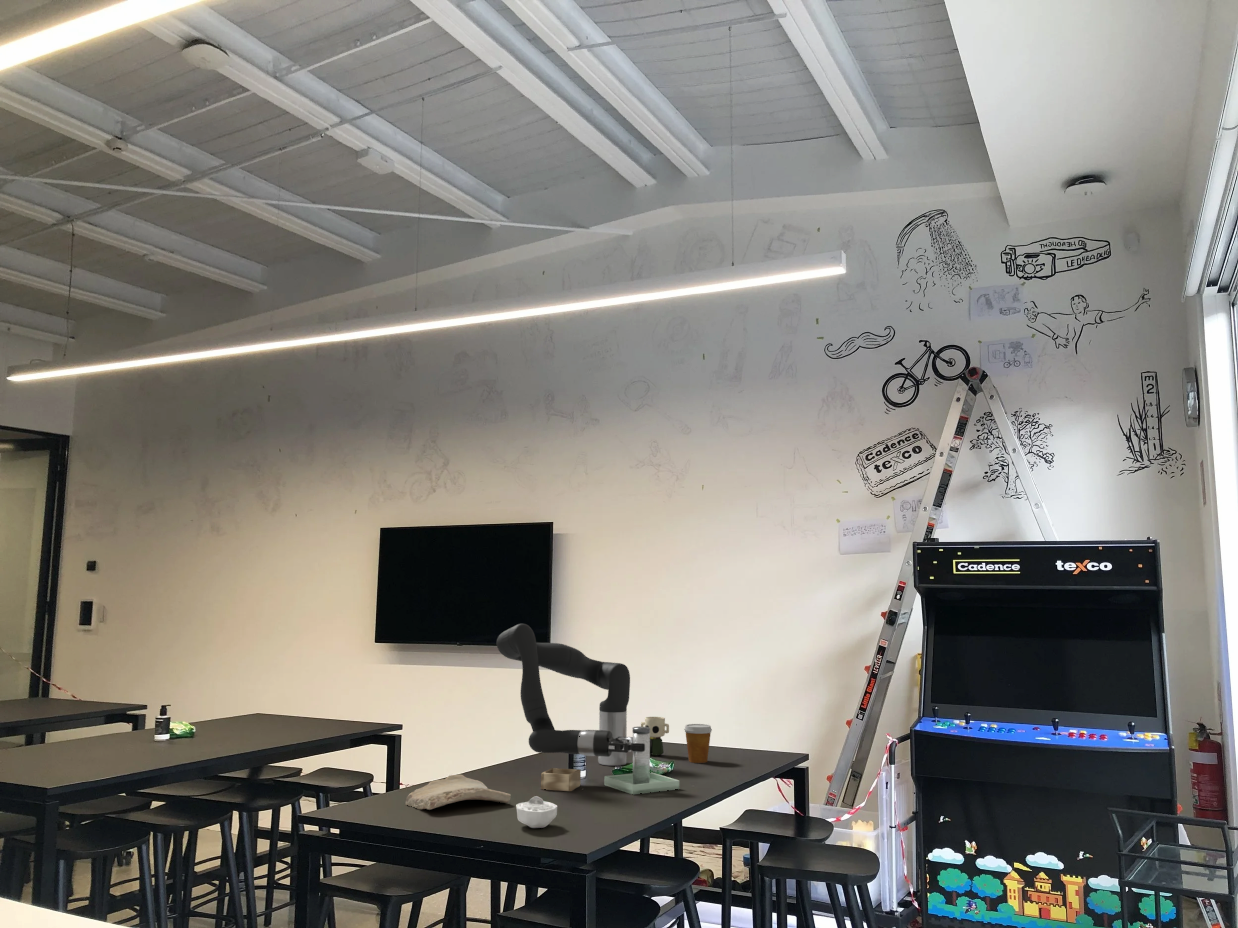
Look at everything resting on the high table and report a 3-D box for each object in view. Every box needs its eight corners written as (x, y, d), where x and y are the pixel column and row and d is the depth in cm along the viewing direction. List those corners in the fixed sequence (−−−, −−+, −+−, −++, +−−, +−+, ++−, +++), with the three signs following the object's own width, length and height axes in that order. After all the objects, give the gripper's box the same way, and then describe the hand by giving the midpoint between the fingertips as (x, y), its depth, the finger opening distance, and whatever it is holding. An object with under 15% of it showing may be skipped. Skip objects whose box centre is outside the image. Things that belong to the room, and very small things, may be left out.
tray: (604, 784, 289) (604, 776, 289) (649, 780, 297) (649, 771, 297) (632, 794, 275) (632, 785, 275) (679, 789, 283) (679, 780, 283)
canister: (629, 782, 287) (629, 727, 289) (643, 780, 290) (644, 725, 292) (638, 785, 283) (638, 729, 284) (653, 783, 285) (653, 728, 287)
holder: (540, 789, 281) (541, 773, 282) (550, 783, 290) (551, 767, 291) (571, 790, 279) (571, 774, 280) (580, 785, 288) (580, 769, 289)
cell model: (513, 832, 229) (514, 803, 230) (516, 821, 241) (517, 792, 242) (556, 832, 230) (557, 802, 231) (557, 821, 242) (557, 792, 243)
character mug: (636, 755, 343) (636, 717, 345) (644, 752, 349) (645, 715, 351) (664, 757, 338) (665, 719, 340) (672, 755, 344) (672, 717, 346)
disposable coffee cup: (712, 759, 336) (711, 723, 337) (712, 764, 326) (711, 727, 328) (684, 758, 337) (684, 723, 338) (683, 763, 327) (683, 726, 329)
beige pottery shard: (399, 806, 262) (430, 813, 246) (400, 777, 263) (431, 782, 247) (480, 800, 275) (514, 805, 259) (480, 772, 277) (514, 776, 261)
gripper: (588, 733, 285) (642, 735, 281) (601, 726, 298) (653, 729, 294) (588, 759, 284) (642, 762, 280) (601, 752, 297) (653, 754, 293)
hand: (647, 745), depth 287 cm, fingers open, 8 cm apart
